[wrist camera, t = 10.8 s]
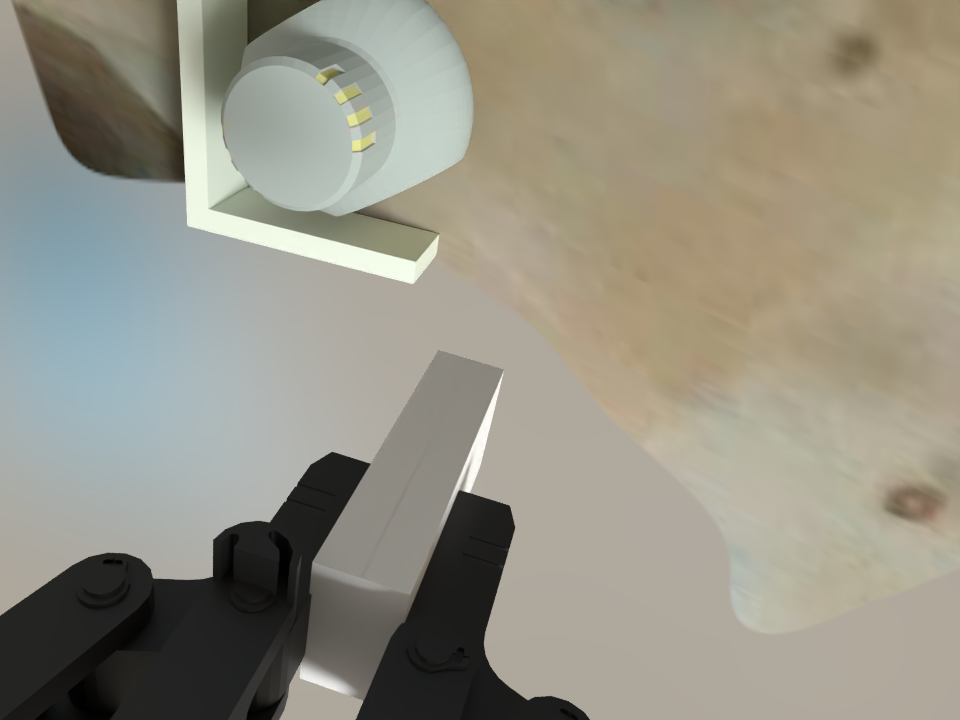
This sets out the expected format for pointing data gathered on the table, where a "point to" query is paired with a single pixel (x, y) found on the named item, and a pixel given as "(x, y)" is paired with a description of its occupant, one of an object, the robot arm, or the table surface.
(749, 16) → the table surface
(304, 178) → the air freshener
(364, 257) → the dock
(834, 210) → the table surface
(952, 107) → the table surface
